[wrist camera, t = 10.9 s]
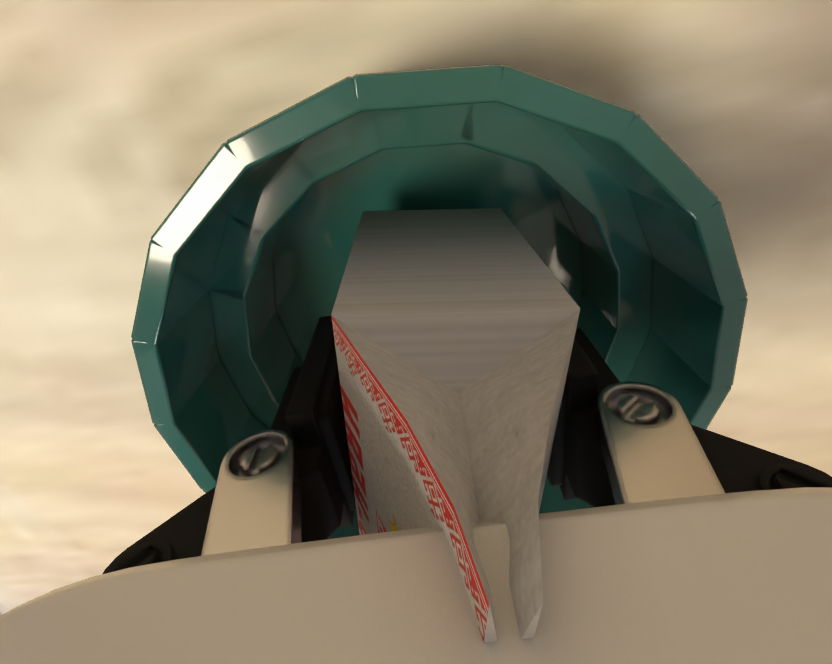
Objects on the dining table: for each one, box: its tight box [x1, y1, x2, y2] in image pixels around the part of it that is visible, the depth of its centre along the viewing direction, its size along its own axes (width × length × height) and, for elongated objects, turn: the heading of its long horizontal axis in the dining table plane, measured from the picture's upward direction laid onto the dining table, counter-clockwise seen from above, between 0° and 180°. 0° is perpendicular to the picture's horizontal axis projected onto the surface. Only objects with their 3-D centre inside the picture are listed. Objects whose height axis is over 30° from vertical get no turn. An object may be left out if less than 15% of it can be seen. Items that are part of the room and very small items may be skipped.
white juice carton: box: [331, 208, 580, 643], centre depth 9 cm, size 4×7×10 cm, turn 1°
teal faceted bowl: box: [131, 64, 747, 539], centre depth 12 cm, size 13×13×6 cm
